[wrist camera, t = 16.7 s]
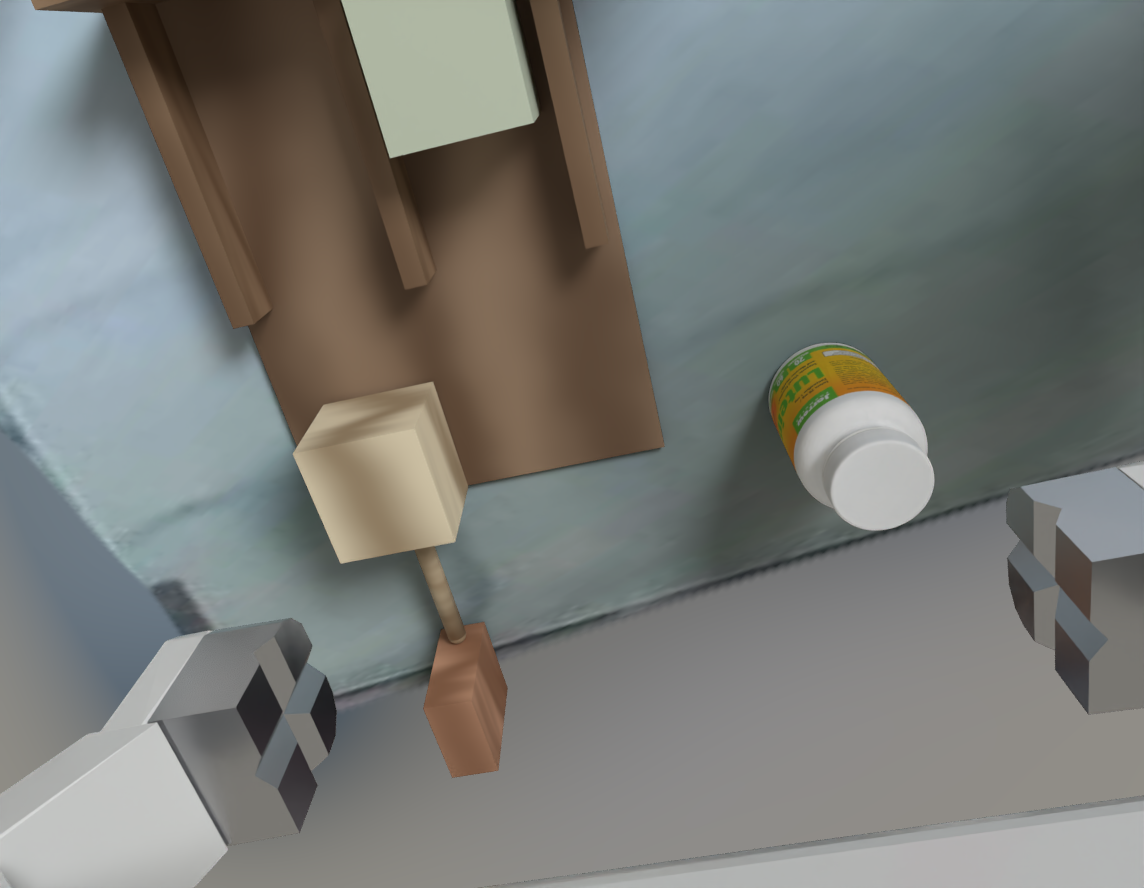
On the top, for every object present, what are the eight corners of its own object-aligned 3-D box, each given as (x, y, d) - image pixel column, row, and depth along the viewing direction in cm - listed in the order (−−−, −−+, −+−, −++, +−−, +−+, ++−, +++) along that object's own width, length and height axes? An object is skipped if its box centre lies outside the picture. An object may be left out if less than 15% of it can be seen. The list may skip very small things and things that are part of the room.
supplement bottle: (792, 325, 41) (847, 406, 32) (898, 358, 41) (980, 445, 32) (749, 426, 43) (789, 526, 34) (850, 455, 43) (915, 561, 35)
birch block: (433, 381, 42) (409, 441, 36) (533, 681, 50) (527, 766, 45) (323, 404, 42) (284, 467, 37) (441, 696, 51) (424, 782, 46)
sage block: (504, -47, 34) (490, -60, 30) (541, 112, 37) (533, 122, 32) (369, -11, 35) (335, -17, 30) (415, 143, 37) (389, 158, 33)
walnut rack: (544, -135, 33) (533, -170, 27) (663, 443, 43) (674, 506, 38) (115, -13, 35) (21, -23, 29) (326, 509, 46) (287, 579, 40)
